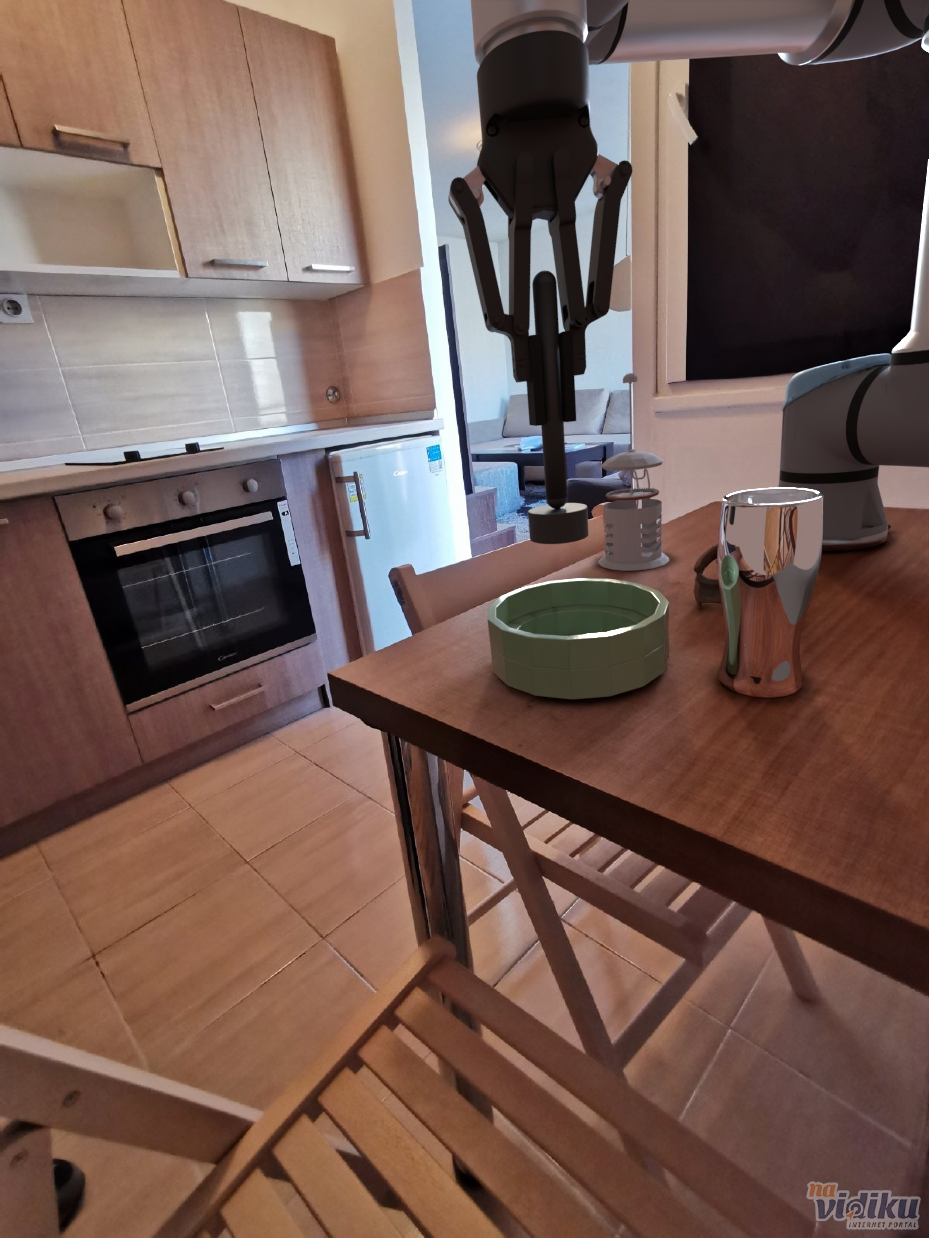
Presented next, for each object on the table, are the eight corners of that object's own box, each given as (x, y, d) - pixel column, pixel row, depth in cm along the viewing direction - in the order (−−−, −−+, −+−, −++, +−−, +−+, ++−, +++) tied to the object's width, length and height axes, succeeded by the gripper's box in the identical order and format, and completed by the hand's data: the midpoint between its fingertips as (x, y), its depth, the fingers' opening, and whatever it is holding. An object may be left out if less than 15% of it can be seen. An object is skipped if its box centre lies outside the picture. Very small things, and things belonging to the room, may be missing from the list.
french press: (589, 569, 83) (580, 378, 74) (612, 548, 92) (607, 376, 83) (661, 571, 78) (661, 368, 69) (678, 549, 87) (679, 367, 79)
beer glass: (733, 655, 52) (742, 486, 47) (821, 674, 48) (840, 487, 42) (698, 686, 48) (702, 503, 43) (790, 710, 43) (807, 506, 38)
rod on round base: (594, 530, 52) (585, 268, 45) (580, 544, 48) (567, 258, 41) (540, 531, 54) (523, 281, 47) (521, 544, 50) (500, 273, 43)
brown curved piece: (817, 618, 59) (791, 558, 55) (725, 657, 63) (695, 603, 59) (771, 558, 69) (746, 504, 65) (693, 595, 72) (666, 546, 69)
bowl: (676, 638, 57) (677, 579, 55) (653, 717, 44) (652, 645, 42) (525, 629, 64) (521, 577, 62) (467, 696, 51) (458, 632, 49)
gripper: (423, 33, 36) (465, 436, 44) (661, 11, 36) (660, 412, 44) (420, 95, 43) (458, 432, 51) (620, 76, 43) (625, 412, 51)
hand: (552, 422), depth 48 cm, fingers closed on rod on round base, 2 cm apart
